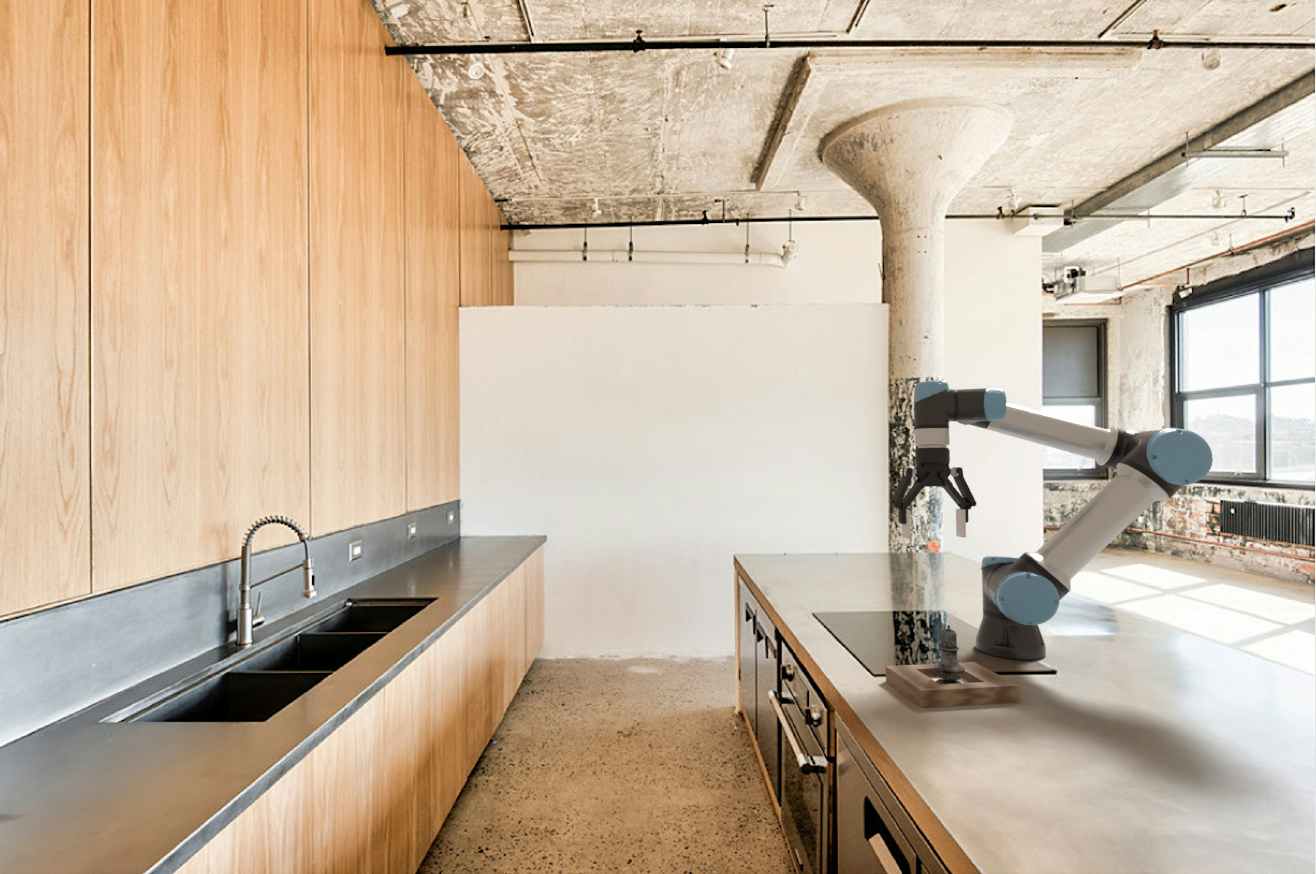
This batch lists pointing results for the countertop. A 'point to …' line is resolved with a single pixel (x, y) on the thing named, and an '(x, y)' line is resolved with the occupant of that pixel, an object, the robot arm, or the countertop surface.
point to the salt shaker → (949, 659)
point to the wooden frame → (952, 686)
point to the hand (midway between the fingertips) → (933, 537)
